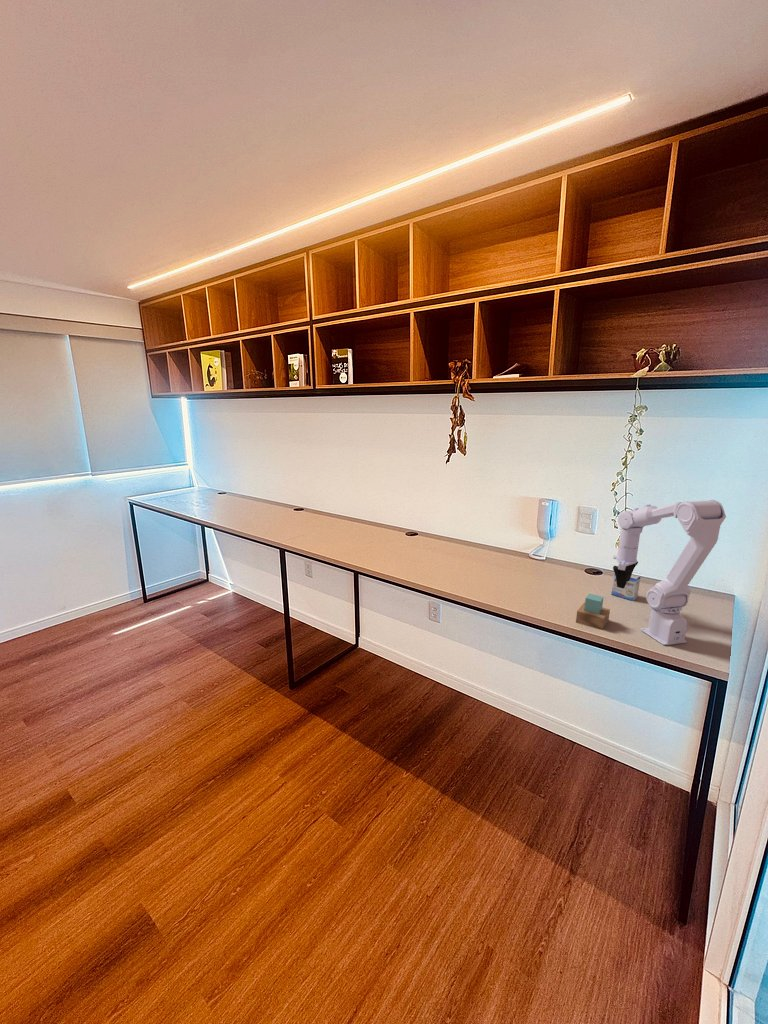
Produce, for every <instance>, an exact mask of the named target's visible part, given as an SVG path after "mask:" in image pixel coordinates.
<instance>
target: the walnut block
mask: <svg viewBox="0 0 768 1024" xmlns="http://www.w3.org/2000/svg"><path fill="white" fill-rule="evenodd" d="M584 608H585V602H583V603H582V605H581V606H580V607H579V608H578V609H577V611H576V616H575V617H576V618H575V623H577V624H581V625H585V626H588V627H591V628H595V629H598V630H602V631H603V630H604V628H605V626H607V623H608V622H609V620H610V619H609V618H610V612H611V608H607V607H603V606H602V610H601V612H600V613H599V614H596V613H592V612H588V611H584Z"/></svg>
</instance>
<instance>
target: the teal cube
mask: <svg viewBox="0 0 768 1024" xmlns="http://www.w3.org/2000/svg"><path fill="white" fill-rule="evenodd" d="M604 598H605V597H604V596H601V595H597V594H594V593H593V594H592V593H588V594H587V596H586V597H585V600H584V603H585V608H584V611H588V612H592V613H596V614H599V613H600V612H601V610H602V607H603V604H604Z"/></svg>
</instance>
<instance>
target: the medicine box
mask: <svg viewBox="0 0 768 1024" xmlns="http://www.w3.org/2000/svg"><path fill="white" fill-rule="evenodd" d="M640 581H641V576H640V575H636V574H633V573H632V575H631V578H630V580H629V581H627V582H626V585H625V587H624V588H619V587H617V583H616V575H615V572H614V573H613V578H612V586H611V591H610V595H611V596H613V597H618V598H620V599H624V600H629V601H632V602H634V601H635V600H636V599H637V598H638V597H639V589H640Z"/></svg>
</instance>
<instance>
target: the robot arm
mask: <svg viewBox="0 0 768 1024" xmlns="http://www.w3.org/2000/svg"><path fill="white" fill-rule="evenodd" d="M617 516H618V517H617V522H618V526H619V527H620V534H619V539H618V549H617V555H613V557H612V559H613V560H616V562H617V563H618V565H613V567H612V570H613V572H614V573H615V575H616V583H617V587H619V588H624V587H625V585H626V582H627V581H629V580H630V578H631V575H632V574H633V572H634V570H635V568H636V566H638V564H639V561H638V559H637V558H638V551H639V544H640V537H641V534H642V533H643V530H644V529H643V528H644V527H646V526H652V525H657V524H659V523H660V522H661V521H662V519H665V518H671V517H674V518H675V519H677V520H678V522H679V523H680V525H681V527H682V528H683V530H684V532H685V533H686V535H687V536H689V537H690V539H689V540H688V542H687V544H686V545H685V546H684V547H683V550H682V552H681V553H680V555H679V556H678V558H677V559H676V561H675V562H674V565H673V566H672V567H671V569H670V571H669V573H668V574H667V575H666V577H665V578H664V579H662V580H660V581H658V582H657V583H655V584H654V586H653V587H651V588H649V589H648V590H647V591H646V597H645V599H646V602H647V604H648V605H649V607H650V614H649V619H648V626H647V627H641V628H640V631H642V632H643V633H645V634H646V635H648V636H649V637H651V638H652V639H654V640H655V641H657V642H659V643H660V644H661V645H663V646H669V645H677V644H678V645H679V644H686V643H687V640H686V636H687V635H686V633H687V628H688V621H687V619H686V618H685V617H684V616H683V615H682V614H681V612H680V611H682V610H683V608H684V607H686V606H687V605H688V603H689V597H690V595H691V593H692V591H691V589H690V587H689V584H690V583H691V581H692V580H693V578H694V577H695V575H696V574H697V572H698V571H699V569H700V568H701V566H702V565H703V563H704V562H705V561H706V560H707V557H708V556H709V555H710V553H711V551H712V550H713V548H714V547H715V545H716V544H717V542H718V540H719V535H720V529H721V526H722V524H723V522H725V519H726V518H727V515H726V511H725V509H724V507H723V505H722V503H721V502H719V500H716V499H710V500H699V501H698V500H697V501H696V500H695V501H689V500H688V501H687V500H686V501H685V500H684V501H680V502H679V501H677V502H673V503H670V504H667V505H664V506H659V507H657V506H655V505H651V504H646V505H643V507H641V508H638V507H635V508H633V510H630V511H628V510H623V511H621V512H620V513H619V514H618V515H617Z"/></svg>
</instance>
